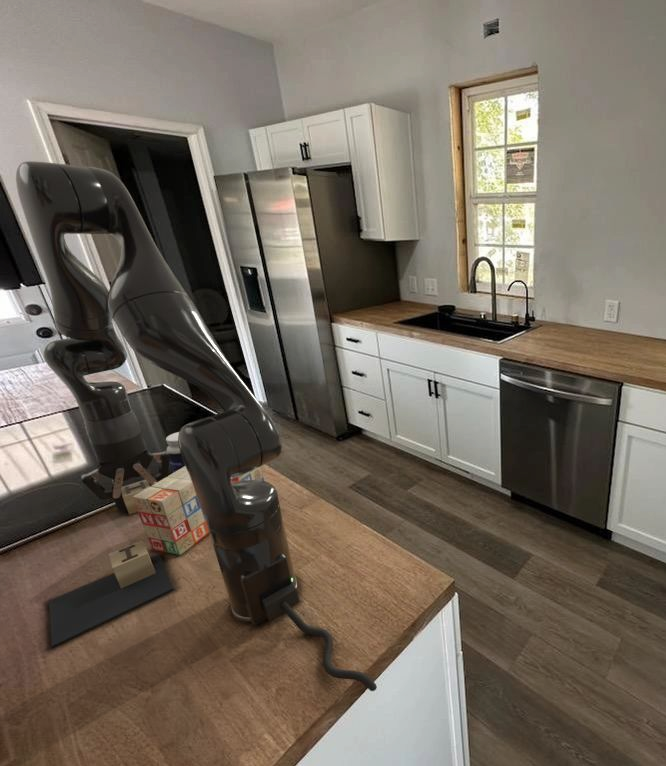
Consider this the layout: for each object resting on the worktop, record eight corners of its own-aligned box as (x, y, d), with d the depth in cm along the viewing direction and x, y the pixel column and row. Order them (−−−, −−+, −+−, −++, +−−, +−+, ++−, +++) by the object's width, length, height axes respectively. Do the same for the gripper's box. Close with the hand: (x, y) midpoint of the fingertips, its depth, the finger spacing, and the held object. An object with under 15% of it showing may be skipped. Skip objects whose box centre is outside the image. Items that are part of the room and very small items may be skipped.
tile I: (155, 573, 71) (147, 552, 69) (121, 588, 68) (112, 567, 66) (150, 559, 74) (143, 539, 72) (117, 573, 71) (108, 553, 69)
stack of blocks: (243, 484, 96) (231, 438, 91) (266, 488, 95) (256, 441, 90) (151, 550, 76) (131, 495, 72) (179, 556, 75) (160, 501, 71)
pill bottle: (168, 475, 99) (157, 438, 95) (193, 463, 104) (183, 428, 100) (184, 480, 97) (173, 443, 93) (209, 468, 102) (199, 433, 98)
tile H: (156, 505, 88) (150, 487, 87) (129, 514, 85) (122, 496, 84) (152, 496, 91) (146, 478, 89) (126, 505, 88) (119, 487, 86)
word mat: (174, 589, 69) (173, 588, 68) (52, 648, 59) (51, 646, 59) (160, 555, 75) (160, 553, 75) (49, 602, 66) (48, 600, 66)
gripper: (65, 453, 75) (97, 529, 81) (164, 428, 85) (186, 497, 91) (63, 439, 79) (93, 511, 86) (157, 416, 89) (178, 483, 95)
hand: (141, 503), depth 88 cm, fingers closed on tile H, 4 cm apart
